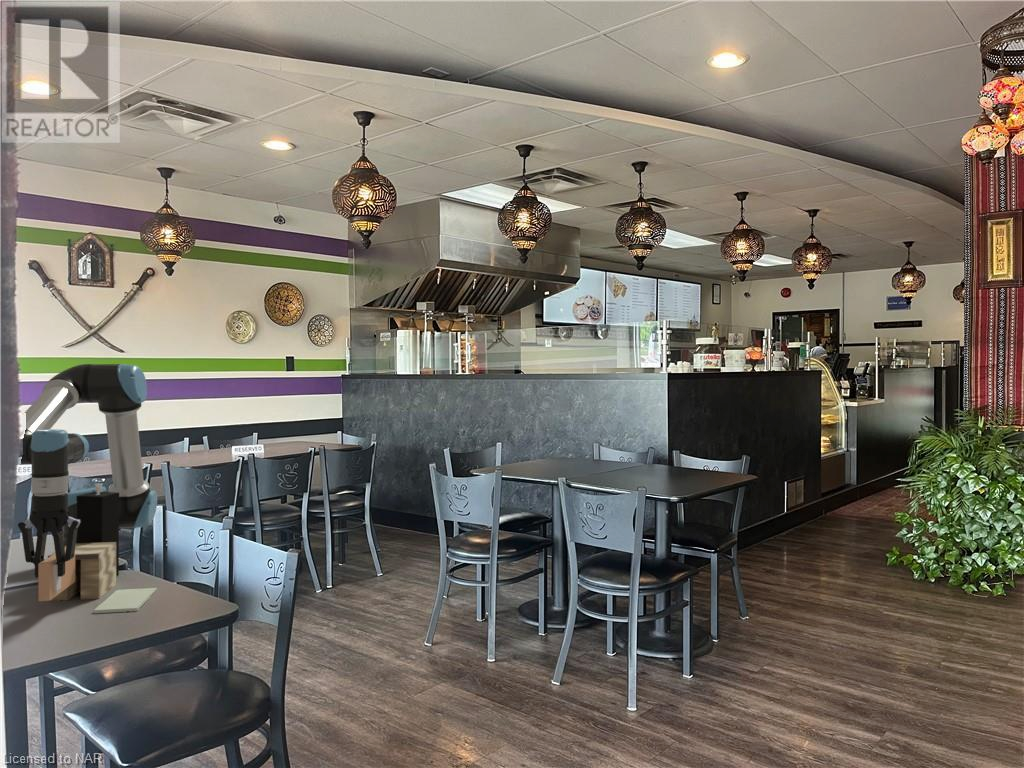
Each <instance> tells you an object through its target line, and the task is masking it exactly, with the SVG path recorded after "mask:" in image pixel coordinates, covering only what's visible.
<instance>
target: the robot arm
mask: <svg viewBox="0 0 1024 768" xmlns="http://www.w3.org/2000/svg"><path fill="white" fill-rule="evenodd" d="M147 390H148V383H147V379H146V376H145V373H144V372H143V369H141V368H140V367H139V366H138V365H134V364H125V363H107V364H106V363H102V364H101V363H100V364H99V363H97V364H95V363H93V364H92V363H84V364H83V363H82V364H78V365H74V366H72V367H70V368H67V369H64V370H62V371H60V372H59V373H57V374H56V375H54V376H52V378H50V379H48V381H47V382H46V383H45V384H44V386H43V388H42V391H41V394H40V396H38V397H37V399H36V400H35V401H33V403H32V404H31V405H30V406H29V407H28V408H27V409H26V410H25V411H24V413H26V430H25V434H24V438H23V455H22V459H21V464H20V465H31V494H33V495H32V496H31V503H30V504H31V507H30V508H31V514H30V516H29V518H28V519H26V520H23V521H20V522H18V524H17V527H18V528H19V530H20V532H21V537H22V543H23V550H24V551H23V552H24V559H25V562H26V563H31V564H34V565H33V566H34V577H35V578H38V564H39V563H41V562H42V561H44V560H45V559H46V558H45V553H46V545H47V539H48V537H47V536H48V533H51V536H52V537H53V538H52V539H53V545H54V552H55V554H56V561H57V562H56V563H55V564H54V565H53V591H58V590H59V589H60V588H61V576H63V575H65V562H66V561H69V560H70V559H72V558H73V557H74V553H75V545H76V543H77V530H78V527H79V525H80V523H81V520H80V519H77V496H79V495H83V494H88V493H92V492H96V488H95V486H94V487H89V488H83V489H78V490H73V491H70V492H68V491H69V465H70V464H76V463H78V462H79V461H80V460H81V461H82V460H83V459H84V458H85V457H86V456H87V455H88V453H89V450H90V444H89V441H88V440H87V438H86V437H85V436H84V435H81V434H79V433H74V432H73V433H68V431H67V430H66V429H59V428H58V429H57V428H56V429H52V428H53V426H55V424H56V423H57V422H58V420H59V419H60V418H61V417H62V416H63V415H64V414H65V412H66V411H67V410H69V409H71V408H74V407H75V406H76V405H77V404H82V403H91V404H92V403H94V404H95V403H96V404H97V405H98V410H99V412H101V414H102V413H103V414H104V415H105V416H104V417H105V424H106V425H105V426H106V433H107V442H108V443H107V444H108V450H109V452H108V453H109V459H110V468H111V479H112V485H111V486H109V488H108V491H107V488H106V487H105V486H102V488H101V492H119V529H137V528H146V527H148V526H150V525H151V524H152V522H153V520H154V518H155V515H156V512H157V511H156V510H157V505H158V494H157V491H156V490H154V489H153V490H152V489H151V488H150V484H149V482H148V481H146V480H145V479H144V473H143V472H144V471H143V461H142V452H141V443H140V442H141V441H140V432H139V421H138V413H137V412H138V410H140V409H141V408H142V403H144V402H145V401H146V399H147V396H148V391H147ZM67 492H68V493H67ZM33 526H34V527H35V529H36V543H35V544H34V537H33V536H34V535H33V531H32V527H33ZM34 545H35V546H34ZM65 546H66V553H65V548H64V547H65Z"/></svg>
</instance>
